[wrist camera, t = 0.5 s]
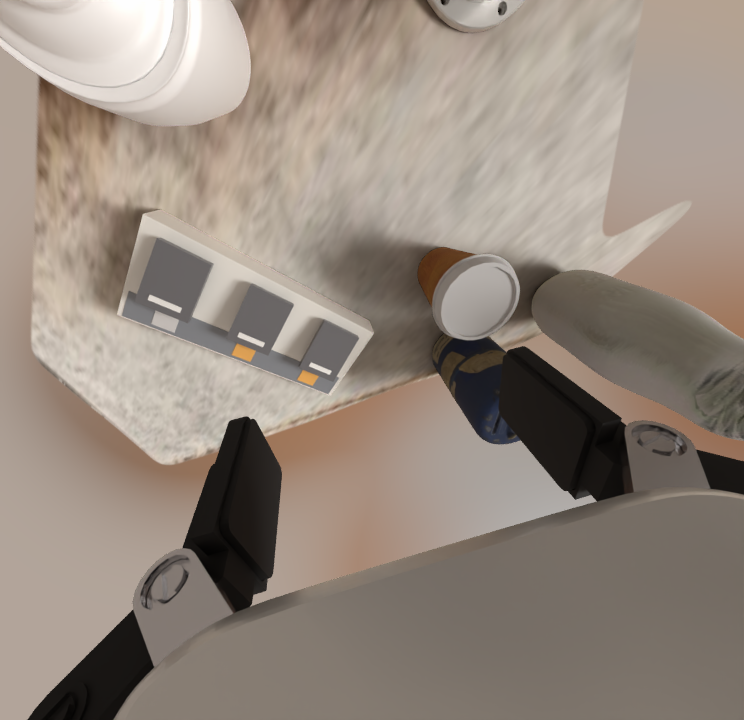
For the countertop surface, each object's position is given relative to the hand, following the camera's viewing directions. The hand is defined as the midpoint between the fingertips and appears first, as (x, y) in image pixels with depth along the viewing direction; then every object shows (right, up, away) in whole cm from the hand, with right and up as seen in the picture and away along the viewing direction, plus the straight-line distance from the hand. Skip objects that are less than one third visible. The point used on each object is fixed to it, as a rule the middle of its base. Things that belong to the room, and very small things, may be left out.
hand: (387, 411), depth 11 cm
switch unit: (-15, +8, +28) cm, 33 cm away
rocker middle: (-14, +7, +23) cm, 28 cm away
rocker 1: (-21, +10, +19) cm, 30 cm away
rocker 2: (-6, +3, +27) cm, 28 cm away
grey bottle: (+27, +12, +34) cm, 45 cm away
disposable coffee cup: (+9, +14, +29) cm, 34 cm away
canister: (+13, +4, +37) cm, 40 cm away
